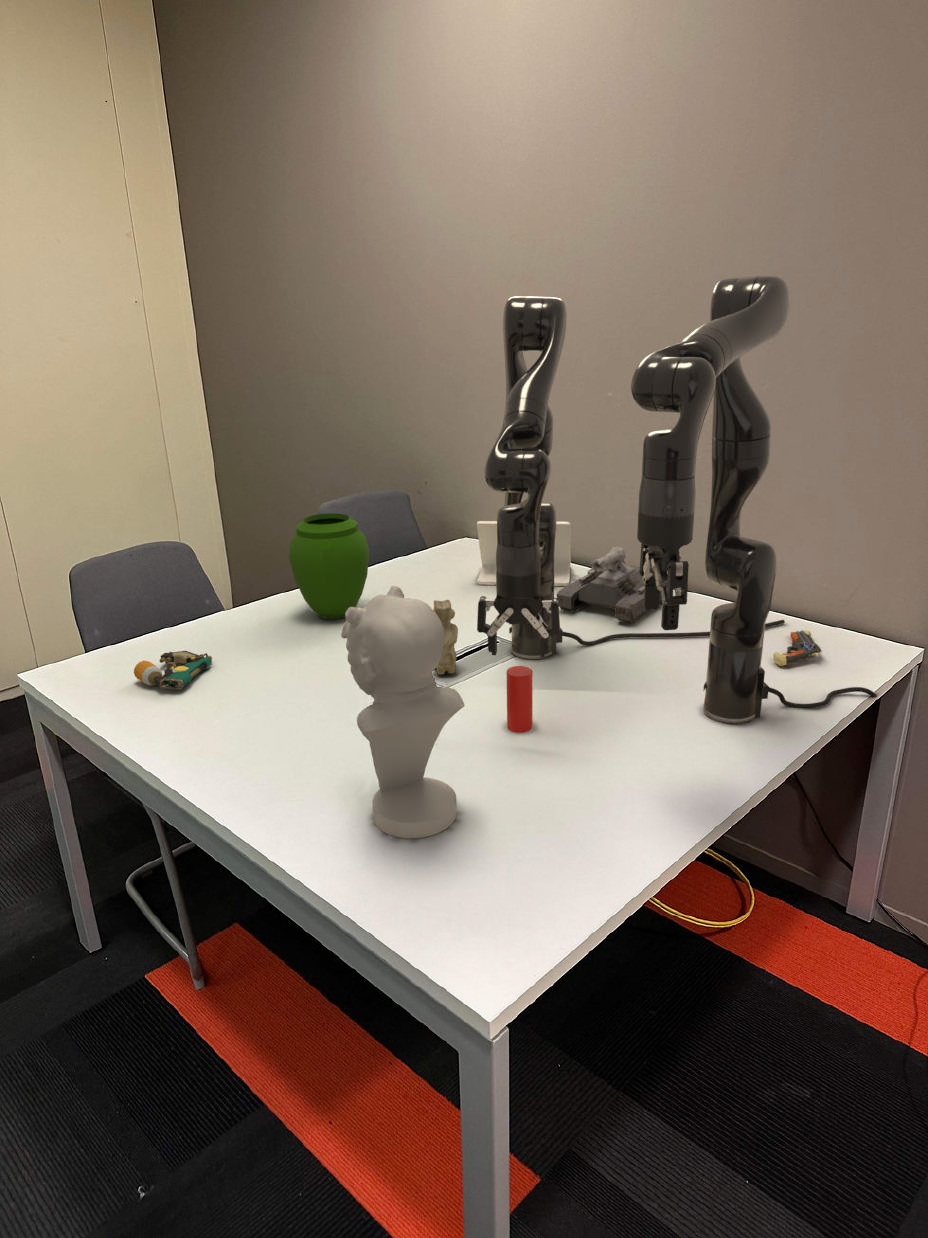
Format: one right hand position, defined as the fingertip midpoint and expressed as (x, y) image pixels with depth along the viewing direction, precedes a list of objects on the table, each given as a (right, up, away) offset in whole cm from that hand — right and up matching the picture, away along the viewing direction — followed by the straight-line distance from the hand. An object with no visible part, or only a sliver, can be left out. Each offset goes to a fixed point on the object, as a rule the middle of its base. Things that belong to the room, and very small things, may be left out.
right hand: (660, 618), depth 123 cm
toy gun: (+43, -7, +61) cm, 75 cm away
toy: (+10, +3, +92) cm, 92 cm away
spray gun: (-89, -12, +58) cm, 107 cm away
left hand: (-19, -6, +28) cm, 34 cm away
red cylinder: (-18, -20, +33) cm, 42 cm away
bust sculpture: (-39, -29, +9) cm, 49 cm away
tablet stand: (-11, +12, +116) cm, 117 cm away
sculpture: (-32, -11, +57) cm, 66 cm away
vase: (-61, +1, +91) cm, 109 cm away
